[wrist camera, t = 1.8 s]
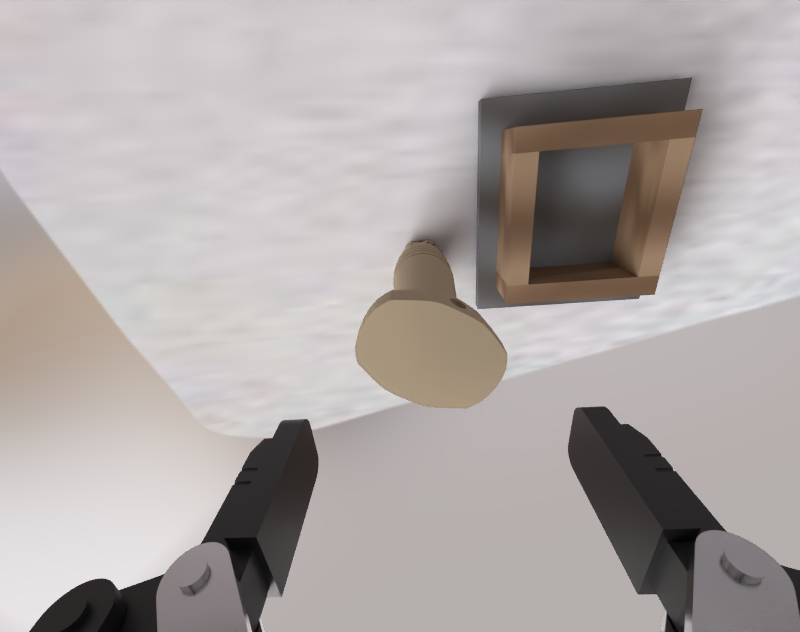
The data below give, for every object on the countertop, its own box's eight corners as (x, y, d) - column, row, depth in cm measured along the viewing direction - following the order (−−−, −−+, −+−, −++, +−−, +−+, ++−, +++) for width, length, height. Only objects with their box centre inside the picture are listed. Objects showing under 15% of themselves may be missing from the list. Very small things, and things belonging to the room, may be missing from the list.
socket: (478, 101, 23) (493, 90, 19) (680, 80, 22) (741, 64, 18) (475, 304, 29) (486, 328, 25) (631, 293, 29) (668, 317, 25)
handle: (398, 212, 26) (386, 277, 13) (470, 248, 27) (529, 344, 14) (372, 266, 28) (339, 371, 15) (440, 298, 29) (467, 424, 16)
